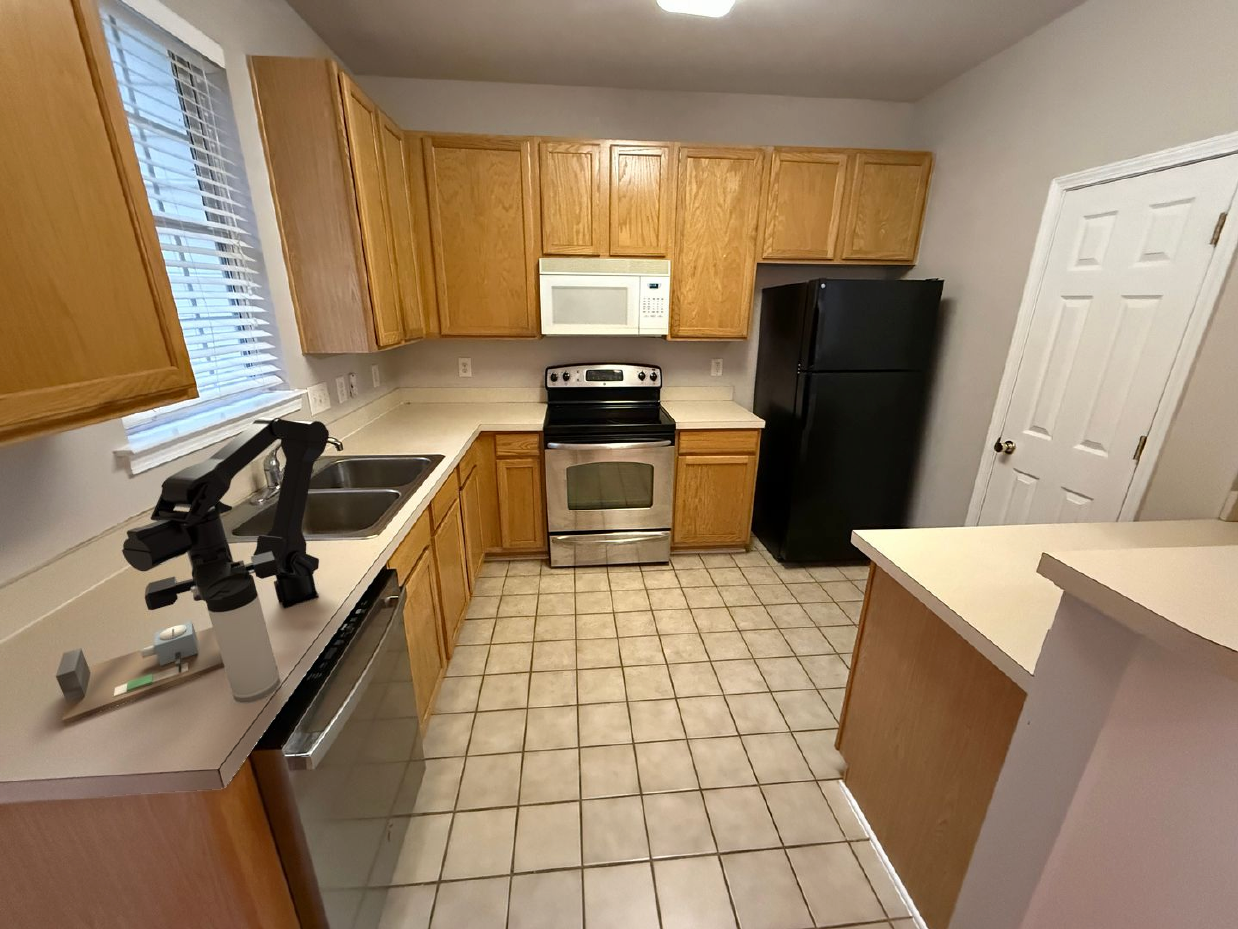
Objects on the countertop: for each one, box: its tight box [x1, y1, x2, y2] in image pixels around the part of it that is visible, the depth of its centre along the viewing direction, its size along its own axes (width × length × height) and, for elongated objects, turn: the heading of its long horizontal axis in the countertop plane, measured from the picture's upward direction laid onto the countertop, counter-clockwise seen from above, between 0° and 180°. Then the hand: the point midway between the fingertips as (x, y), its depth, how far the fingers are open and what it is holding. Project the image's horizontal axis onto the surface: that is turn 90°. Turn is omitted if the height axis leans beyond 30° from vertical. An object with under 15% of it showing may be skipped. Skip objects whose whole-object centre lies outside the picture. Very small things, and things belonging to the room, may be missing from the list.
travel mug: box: [204, 571, 281, 704], centre depth 78 cm, size 6×7×20 cm
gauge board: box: [55, 626, 225, 726], centre depth 85 cm, size 22×14×6 cm, turn 131°
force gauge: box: [140, 620, 198, 667], centre depth 85 cm, size 7×9×4 cm
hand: (228, 618), depth 91 cm, fingers closed
